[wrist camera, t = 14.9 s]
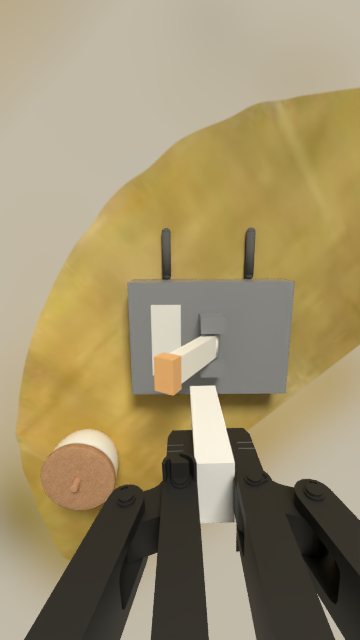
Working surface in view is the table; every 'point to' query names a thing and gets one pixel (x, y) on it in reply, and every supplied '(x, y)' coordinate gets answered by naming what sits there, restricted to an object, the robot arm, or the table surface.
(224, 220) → the table surface
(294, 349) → the table surface
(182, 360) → the breaker lever
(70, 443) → the lidded jar
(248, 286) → the breaker box
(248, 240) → the router antennas
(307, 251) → the table surface
